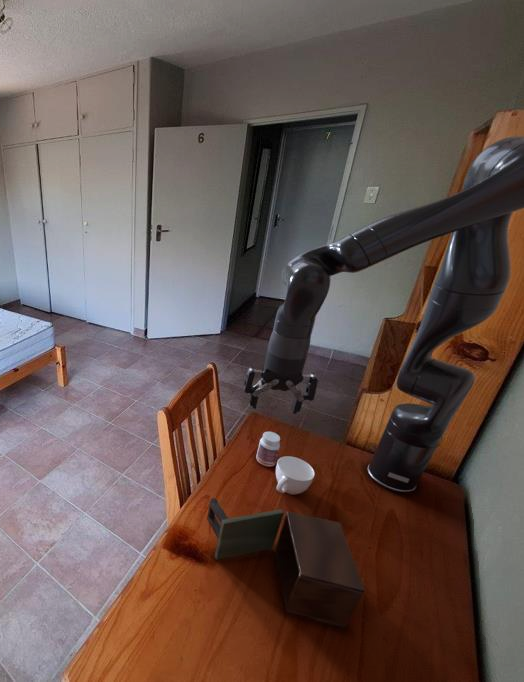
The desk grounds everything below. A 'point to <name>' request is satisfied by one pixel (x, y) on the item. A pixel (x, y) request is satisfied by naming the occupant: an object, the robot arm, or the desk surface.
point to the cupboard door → (243, 531)
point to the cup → (293, 475)
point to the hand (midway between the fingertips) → (273, 409)
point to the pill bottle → (268, 449)
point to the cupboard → (317, 570)
